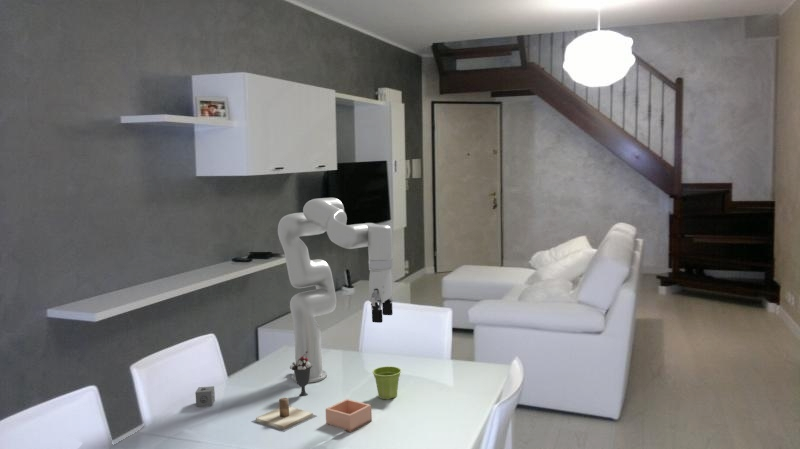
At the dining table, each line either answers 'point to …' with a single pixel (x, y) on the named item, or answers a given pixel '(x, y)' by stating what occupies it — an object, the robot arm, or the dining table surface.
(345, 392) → the dining table surface
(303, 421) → the mat
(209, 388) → the dice cube
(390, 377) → the plant pot
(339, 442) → the dining table surface
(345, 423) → the salmon pink open box
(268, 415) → the wooden lid with knob
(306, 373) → the sundae
